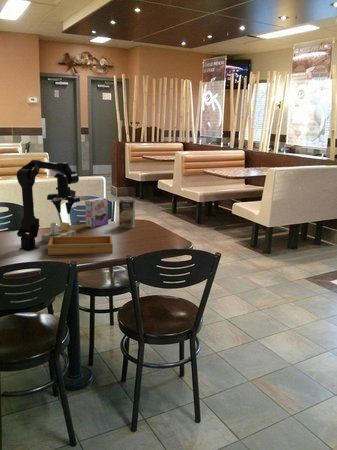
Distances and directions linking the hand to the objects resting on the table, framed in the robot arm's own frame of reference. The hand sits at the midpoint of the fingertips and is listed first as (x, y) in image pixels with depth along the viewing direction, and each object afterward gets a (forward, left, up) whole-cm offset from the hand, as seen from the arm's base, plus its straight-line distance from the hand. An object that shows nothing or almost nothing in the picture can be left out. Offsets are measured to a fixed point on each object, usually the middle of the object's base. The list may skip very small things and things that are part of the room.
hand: (64, 213), depth 224 cm
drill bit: (-9, 0, -13) cm, 16 cm away
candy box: (+29, -1, -13) cm, 32 cm away
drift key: (0, 0, -10) cm, 10 cm away
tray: (-16, -23, -14) cm, 31 cm away
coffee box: (+35, -19, -13) cm, 42 cm away
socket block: (-5, 0, -13) cm, 14 cm away
